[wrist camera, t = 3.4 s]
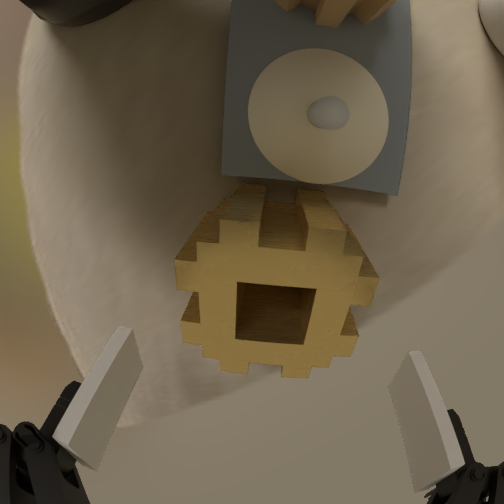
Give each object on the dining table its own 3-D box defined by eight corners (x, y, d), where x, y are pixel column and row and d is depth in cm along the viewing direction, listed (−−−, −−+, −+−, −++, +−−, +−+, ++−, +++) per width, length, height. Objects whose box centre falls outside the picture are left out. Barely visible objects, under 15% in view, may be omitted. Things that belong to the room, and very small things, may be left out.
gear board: (224, 171, 19) (197, 199, 12) (243, -60, 10) (229, -112, 3) (389, 190, 18) (438, 226, 12) (396, -35, 9) (433, -73, 3)
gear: (208, 301, 24) (186, 365, 17) (207, 181, 19) (171, 216, 13) (327, 311, 23) (340, 378, 17) (353, 195, 19) (391, 236, 12)
